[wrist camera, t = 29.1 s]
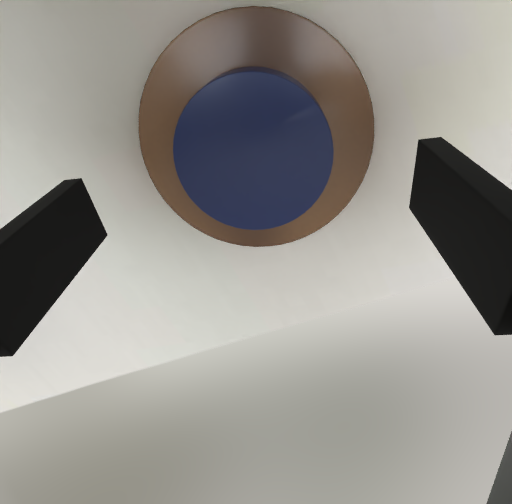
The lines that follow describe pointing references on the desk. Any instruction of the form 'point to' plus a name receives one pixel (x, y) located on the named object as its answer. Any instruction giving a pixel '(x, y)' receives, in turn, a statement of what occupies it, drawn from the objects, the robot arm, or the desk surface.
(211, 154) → the lid
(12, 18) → the desk surface
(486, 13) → the desk surface
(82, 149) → the desk surface
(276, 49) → the coaster
